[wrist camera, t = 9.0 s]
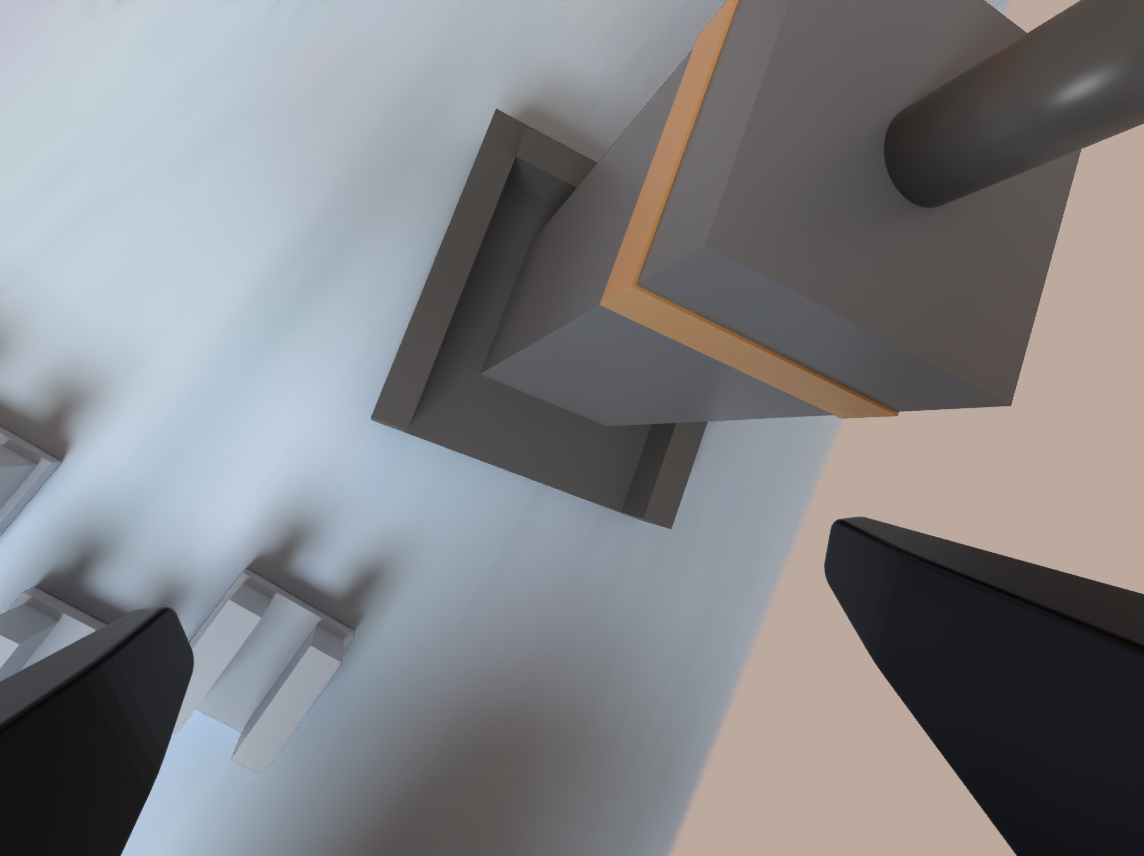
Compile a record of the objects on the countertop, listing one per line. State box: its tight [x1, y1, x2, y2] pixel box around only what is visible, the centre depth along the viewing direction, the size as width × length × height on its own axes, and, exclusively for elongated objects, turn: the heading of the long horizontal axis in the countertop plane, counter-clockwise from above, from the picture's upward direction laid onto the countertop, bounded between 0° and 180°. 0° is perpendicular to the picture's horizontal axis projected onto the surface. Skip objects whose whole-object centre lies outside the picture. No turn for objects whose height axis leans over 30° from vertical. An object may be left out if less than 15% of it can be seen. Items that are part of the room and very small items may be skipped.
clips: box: [0, 426, 355, 776], centre depth 16 cm, size 7×13×3 cm, turn 55°
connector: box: [480, 0, 1144, 426], centre depth 13 cm, size 5×5×16 cm
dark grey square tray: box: [371, 109, 707, 529], centre depth 20 cm, size 10×10×2 cm
